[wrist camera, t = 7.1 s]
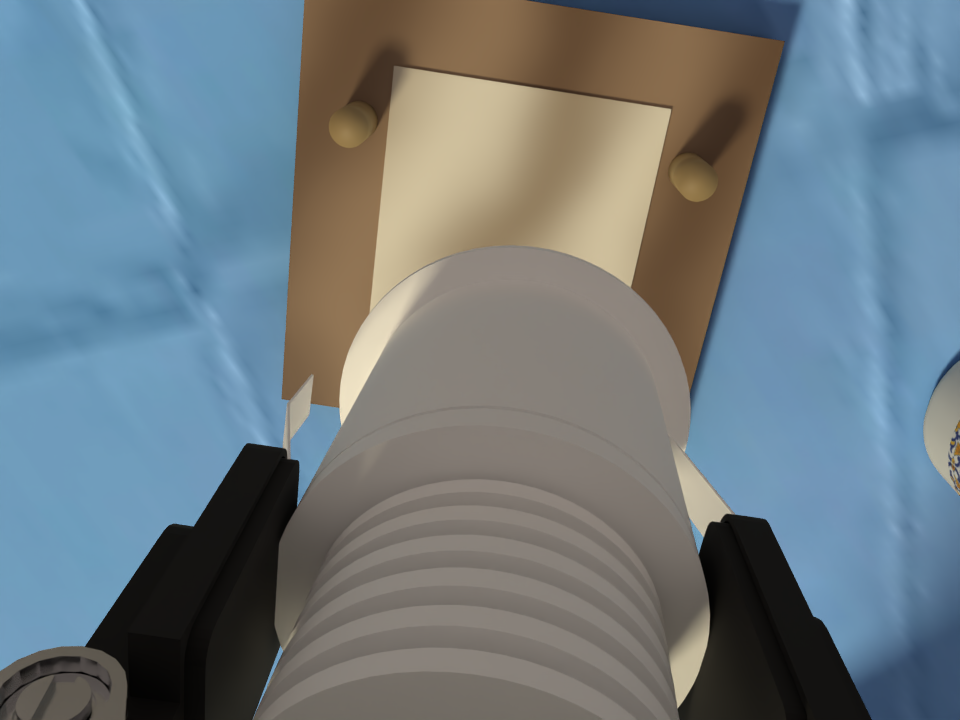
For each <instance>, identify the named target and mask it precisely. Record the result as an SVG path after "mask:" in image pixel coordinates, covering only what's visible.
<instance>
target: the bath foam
mask: <svg viewBox="0 0 960 720" xmlns="http://www.w3.org/2000/svg"><path fill="white" fill-rule="evenodd" d="M923 435H924V442H925V447H926V450H927V453H928V455H929V457H930V459H931V461H932V463H933V465H934V466H935V468H936V469H937V470H938V472H939V473H940V474H941V475H942V476H943V478H944V479H945V480H946V481H947V482H948V483H949V484H950V486H951V487H952V488H953V489H954V490H955V491H956V492H957V493H958V494H959V496H960V360H959V361H958V362H957V363H956V364H955V365H954V366H953V367H952V368H951V369H950V370H949V371H948V372H947V373H946V374H945V375H944V377H943V378H942V379H941V381H940V382H939V383H938V385H937V387H936V388H935V390H934V392H933V394H932V397H931V399H930V402H929V405H928V408H927V411H926V414H925V418H924V425H923Z"/></svg>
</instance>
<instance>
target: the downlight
mask: <svg viewBox="0 0 960 720" xmlns="http://www.w3.org/2000/svg"><path fill="white" fill-rule="evenodd" d="M313 377H314V375H312V374H311V375H310V377H309V378H308V379H307V380H306V381H305V383H304V384H303V385H302V386H301V387H300V389H299V390H298V391H297V392H296V394H295V395H294V396H293V397H292V398H291V400H290V401H289V402H288V403H287V410H286V420H285V430H284V440H283V448H285V449H286V450H287V459H290V440H291V439H292V437H293V436H294V434H295V433H296V432H297V430H298V429H299V428H300V426H301V425H302V424H303V422H304V421H305V420H306V418H307V417H308V416H309V411H310V403H311V394H312V385H313ZM339 402H340V418H341V425H342V426H341V428H340V430H339V432H338V434H337V435H336V437H335V439H334V441H333V443H332V444H331V446H330V448H329V450H328V452H327V454H326V455H325V457H324V459H323V461H322V463H321V465H320V466H319V468H318V470H317V472H316V474H315V476H314V477H313V479H312V481H311V483H310V485H309V487H308V488H307V490H306V492H305V494H304V496H303V498H302V499H301V501H300V503H299V505H298V507H297V508H296V510H295V512H294V514H293V515H292V517H291V519H290V521H289V523H288V524H287V526H286V528H285V531H284V533H283V535H282V538H281V540H280V542H279V554H278V571H277V588H276V606H275V623H274V624H275V629H276V632H277V635H278V639H279V642H280V645H281V647H282V650H283V653H282V655H281V658H280V660H279V662H278V664H277V666H276V668H275V671H274V673H273V675H272V677H271V680H270V682H269V684H268V686H267V690H266V692H265V694H264V696H263V698H262V700H261V702H260V705H259V707H258V709H257V711H256V714H255V716H254V718H253V720H680V719H679V715H678V710H677V709H678V707H679V706H680V705H681V703H682V702H683V701H684V699H685V698H686V696H687V694H688V693H689V691H690V689H691V688H692V686H693V684H694V682H695V680H696V678H697V675H698V673H699V670H700V667H701V663H702V660H703V657H704V654H705V651H706V648H707V643H708V637H709V626H710V608H709V596H708V591H707V586H706V581H705V577H704V573H703V570H702V566H701V562H700V559H699V555H698V551H697V547H696V543H695V539H694V535H693V531H692V527H691V523H690V519H691V520H692V522H693V523H694V524H695V526H696V527H697V529H698V530H699V531H700V533H701V534H702V535H703V537H704V535H705V532H706V529H707V526H708V525H709V523H710V522H712V521H714V522H720V521H721V519H722V517H723V516H724V515H725V514H734V515H735V513H734V512H733V511H732V510H731V509H730V507H729V506H728V505H727V504H726V502H725V501H724V500H723V499H722V498H721V496H720V495H719V494H718V493H717V491H716V490H715V489H714V488H713V487H712V485H711V484H710V483H709V482H708V480H707V479H706V478H705V477H704V475H703V474H702V473H701V472H700V471H699V469H698V468H697V467H696V466H695V464H694V463H693V462H692V461H691V460H690V458H689V457H688V456H687V455H686V453H685V448H686V445H687V441H688V435H689V428H690V413H691V406H690V393H689V387H688V382H687V377H686V373H685V370H684V367H683V363H682V360H681V357H680V355H679V352H678V350H677V348H676V346H675V343H674V341H673V339H672V338H671V336H670V334H669V332H668V330H667V329H666V327H665V326H664V324H663V323H662V321H661V320H660V319H659V317H658V316H657V314H656V313H655V312H654V311H653V310H652V308H651V307H650V306H649V305H648V304H647V303H646V302H645V301H644V300H643V299H642V298H641V297H640V296H639V295H638V294H637V293H636V292H635V291H634V290H633V289H631V288H630V287H629V286H628V285H626V284H625V283H624V282H622V281H621V280H620V279H618V278H617V277H615V276H614V275H612V274H610V273H609V272H607V271H605V270H604V269H602V268H600V267H598V266H596V265H594V264H592V263H590V262H588V261H585V260H583V259H580V258H577V257H575V256H572V255H569V254H566V253H562V252H558V251H554V250H550V249H545V248H538V247H532V246H516V245H506V246H490V247H483V248H476V249H471V250H467V251H463V252H459V253H456V254H453V255H450V256H447V257H444V258H441V259H439V260H437V261H435V262H432V263H430V264H428V265H426V266H424V267H422V268H421V269H419V270H417V271H416V272H414V273H412V274H410V275H409V276H408V277H406V278H405V279H404V280H402V281H401V282H400V283H398V284H397V285H396V286H395V287H393V288H392V289H391V290H390V291H389V292H388V293H387V294H386V295H385V296H384V297H383V298H382V299H381V300H380V301H379V302H378V304H377V305H376V306H375V307H374V308H373V309H372V311H371V312H370V314H369V315H368V316H367V318H366V319H365V321H364V322H363V324H362V325H361V327H360V329H359V331H358V332H357V334H356V336H355V338H354V340H353V342H352V345H351V347H350V349H349V352H348V354H347V358H346V361H345V364H344V368H343V373H342V378H341V384H340V397H339ZM689 518H690V519H689Z"/></svg>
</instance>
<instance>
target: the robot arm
mask: <svg viewBox="0 0 960 720" xmlns="http://www.w3.org/2000/svg"><path fill="white" fill-rule="evenodd" d="M298 482H299V461H298V460H292V459H287V450H286V449H285V448H278V447H272V446H265V445H258V444H251V443H247V444H246V445H245V446H244V448H243V449H242V451H241V452H240V454H239V456H238V457H237V459H236V460H235V462H234V463H233V465H232V467H231V468H230V470H229V471H228V473H227V475H226V476H225V478H224V479H223V481H222V483H221V484H220V486H219V487H218V489H217V491H216V492H215V494H214V495H213V497H212V498H211V500H210V502H209V503H208V505H207V506H206V508H205V510H204V511H203V513H202V514H201V516H200V518H199V519H198V521H197V522H196V524H195V526H194V527H193V526H186V525H179V524H172V525H169V526H168V527H167V528H166V529H165V530H164V531H163V533H162V534H161V536H160V537H159V539H158V540H157V541H156V543H155V544H154V546H153V547H152V549H151V550H150V552H149V553H148V555H147V556H146V558H145V559H144V561H143V562H142V564H141V565H140V566H139V568H138V569H137V571H136V572H135V574H134V575H133V577H132V578H131V580H130V581H129V583H128V584H127V586H126V587H125V588H124V590H123V591H122V593H121V594H120V596H119V597H118V599H117V600H116V602H115V603H114V605H113V606H112V608H111V609H110V611H109V612H108V613H107V615H106V616H105V618H104V619H103V621H102V622H101V624H100V625H99V627H98V628H97V630H96V631H95V633H94V634H93V635H92V637H91V638H90V640H89V641H88V643H87V644H86V646H85V647H83V646H71V647H57V648H52V649H47V650H42V651H38V652H36V653H33V654H31V655H29V656H26V657H24V658H21V659H19V660H17V661H15V662H14V663H12V664H11V665H9V666H8V667H6V668H5V669H3V670H1V671H0V720H252V719H253V717H254V714H255V711H256V709H257V706H258V703H259V701H260V698H261V695H262V693H263V690H264V687H265V685H266V682H267V679H268V677H269V674H270V671H271V669H272V666H273V664H274V661H275V658H276V656H277V653H278V650H279V648H280V642H279V639H278V635H277V632H276V629H275V624H274V623H275V606H276V588H277V571H278V554H279V542H280V540H281V538H282V535H283V533H284V531H285V528H286V526H287V524H288V523H289V521H290V519H291V517H292V515H293V514H294V512H295V510H296V508H297V498H298ZM699 559H700V562H701V566H702V570H703V573H704V577H705V581H706V586H707V591H708V596H709V608H710V626H709V637H708V643H707V648H706V651H705V654H704V657H703V660H702V663H701V667H700V670H699V673H698V675H697V678H696V680H695V682H694V684H693V686H692V688H691V689H690V691H689V693H688V694H687V696H686V698H685V699H684V701H683V702H682V703H681V705H680V706H679V707H678V709H677V710H678V715H679V719H680V720H872V719H871V717H870V715H869V713H868V711H867V709H866V707H865V705H864V703H863V701H862V699H861V697H860V695H859V693H858V691H857V689H856V687H855V685H854V683H853V681H852V679H851V676H850V674H849V672H848V670H847V668H846V666H845V664H844V662H843V660H842V658H841V656H840V654H839V652H838V650H837V648H836V646H835V644H834V642H833V640H832V638H831V636H830V634H829V632H828V630H827V628H826V626H825V625H824V624H823V622H822V621H821V620H820V619H818V618H816V617H813V615H812V613H811V611H810V609H809V606H808V604H807V602H806V600H805V598H804V596H803V594H802V592H801V590H800V588H799V586H798V583H797V581H796V579H795V577H794V575H793V573H792V571H791V569H790V567H789V565H788V563H787V561H786V558H785V556H784V554H783V552H782V550H781V548H780V546H779V544H778V542H777V540H776V538H775V535H774V533H773V531H772V529H771V527H770V525H769V523H768V522H767V520H765V519H761V518H754V517H748V516H741V515H734V514H725V515H724V516H723V517H722V519H721V521H720V522H714V521H712V522H710V523H709V525H708V526H707V529H706V532H705V535H704V539H703V542H702V545H701V549H700V552H699Z"/></svg>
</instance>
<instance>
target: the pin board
mask: <svg viewBox="0 0 960 720" xmlns="http://www.w3.org/2000/svg"><path fill="white" fill-rule="evenodd" d="M784 42H785V41H780V40H773V39H767V38H761V37H754V36H748V35H742V34H735V33H729V32H723V31H716V30H710V29H704V28H697V27H691V26H685V25H678V24H672V23H666V22H660V21H653V20H647V19H641V18H634V17H628V16H622V15H615V14H609V13H603V12H596V11H590V10H584V9H577V8H571V7H565V6H558V5H552V4H546V3H539V2H533V1H527V0H305V1H304V19H303V36H302V54H301V71H300V89H299V106H298V123H297V141H296V158H295V176H294V193H293V211H292V228H291V246H290V263H289V281H288V298H287V315H286V333H285V350H284V368H283V385H282V399H285V400H291V398H292V397H293V396H294V395H295V394H296V392H297V391H298V390H299V389H300V387H301V386H302V385H303V384H304V383H305V381H306V380H307V379H308V378H309V377H310V375H311V374H312V375H314V377H313V385H312V394H311V404H318V405H325V406H331V407H338V408H340V402H339V397H340V384H341V378H342V373H343V368H344V364H345V361H346V358H347V354H348V352H349V349H350V347H351V345H352V342H353V340H354V338H355V336H356V334H357V332H358V331H359V329H360V327H361V325H362V324H363V322H364V321H365V319H366V318H367V316H368V315H369V314H370V312H371V311H372V309H373V308H374V307H375V306H376V305H377V304H378V302H379V301H380V300H381V299H382V298H383V297H384V296H385V295H386V294H387V293H388V292H389V291H390V290H391V289H392V288H393V287H395V286H396V285H397V284H398V283H400V282H401V281H402V280H404V279H405V278H406V277H408V276H409V275H410V274H412V273H414V272H416V271H417V270H419V269H421V268H422V267H424V266H426V265H428V264H430V263H432V262H435V261H437V260H439V259H441V258H444V257H447V256H450V255H453V254H456V253H459V252H463V251H467V250H471V249H476V248H483V247H490V246H506V245H516V246H532V247H538V248H545V249H550V250H554V251H558V252H562V253H566V254H569V255H572V256H575V257H577V258H580V259H583V260H585V261H588V262H590V263H592V264H594V265H596V266H598V267H600V268H602V269H604V270H605V271H607V272H609V273H610V274H612V275H614V276H615V277H617V278H618V279H620V280H621V281H622V282H624V283H625V284H626V285H628V286H629V287H630V288H631V289H633V290H634V291H635V292H636V293H637V294H638V295H639V296H640V297H641V298H642V299H643V300H644V301H645V302H646V303H647V304H648V305H649V306H650V307H651V308H652V310H653V311H654V312H655V313H656V314H657V316H658V317H659V319H660V320H661V321H662V323H663V324H664V326H665V327H666V329H667V330H668V332H669V334H670V336H671V338H672V339H673V341H674V343H675V346H676V348H677V350H678V352H679V355H680V357H681V360H682V363H683V367H684V370H685V373H686V377H687V382H688V387H689V393H690V390H691V386H692V382H693V379H694V375H695V371H696V368H697V364H698V360H699V356H700V353H701V349H702V345H703V342H704V338H705V334H706V331H707V327H708V323H709V320H710V316H711V312H712V308H713V305H714V301H715V297H716V294H717V290H718V286H719V283H720V279H721V275H722V271H723V268H724V264H725V260H726V257H727V253H728V249H729V246H730V242H731V238H732V234H733V231H734V227H735V223H736V220H737V216H738V212H739V209H740V205H741V201H742V197H743V194H744V190H745V186H746V183H747V179H748V175H749V172H750V168H751V164H752V161H753V157H754V153H755V149H756V146H757V142H758V138H759V135H760V131H761V127H762V124H763V120H764V116H765V112H766V109H767V105H768V101H769V98H770V94H771V90H772V87H773V83H774V79H775V75H776V72H777V68H778V64H779V61H780V57H781V53H782V50H783V46H784Z"/></svg>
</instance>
